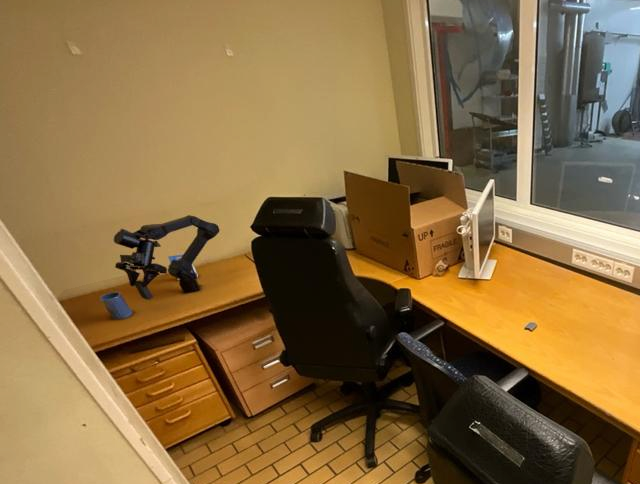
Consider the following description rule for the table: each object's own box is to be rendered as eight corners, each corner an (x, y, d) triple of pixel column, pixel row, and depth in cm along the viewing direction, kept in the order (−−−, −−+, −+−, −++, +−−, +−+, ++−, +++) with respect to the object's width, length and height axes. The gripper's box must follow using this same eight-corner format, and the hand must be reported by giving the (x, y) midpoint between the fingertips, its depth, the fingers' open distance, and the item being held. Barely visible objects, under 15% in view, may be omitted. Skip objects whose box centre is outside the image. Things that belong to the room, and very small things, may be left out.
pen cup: (133, 310, 180) (121, 290, 174) (130, 317, 175) (118, 297, 169) (114, 313, 177) (101, 294, 171) (110, 320, 172) (97, 301, 166)
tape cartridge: (177, 281, 203) (166, 259, 196) (178, 278, 206) (167, 256, 199) (197, 277, 207) (187, 256, 200) (198, 275, 210) (188, 253, 203)
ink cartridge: (154, 298, 176) (145, 282, 172) (148, 300, 175) (139, 284, 170) (147, 295, 178) (138, 279, 173) (142, 297, 176) (132, 281, 172)
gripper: (106, 244, 166) (98, 279, 164) (148, 246, 166) (141, 281, 163) (131, 254, 177) (124, 287, 175) (170, 256, 177) (164, 289, 174)
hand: (138, 286), depth 171 cm, fingers closed on ink cartridge, 5 cm apart
